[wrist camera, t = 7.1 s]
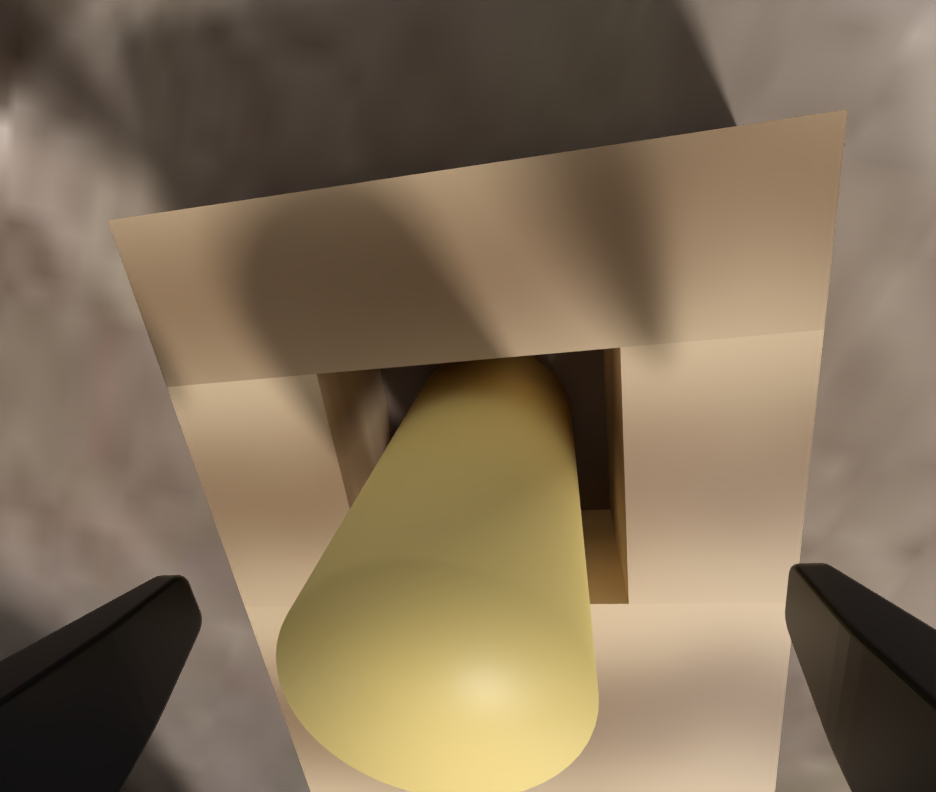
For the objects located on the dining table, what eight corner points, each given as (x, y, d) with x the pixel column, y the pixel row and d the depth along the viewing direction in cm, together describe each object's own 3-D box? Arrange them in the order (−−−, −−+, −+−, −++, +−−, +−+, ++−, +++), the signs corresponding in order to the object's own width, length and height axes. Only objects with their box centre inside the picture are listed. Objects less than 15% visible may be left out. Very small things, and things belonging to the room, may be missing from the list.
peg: (576, 483, 14) (605, 807, 7) (431, 489, 15) (318, 790, 8) (565, 338, 13) (588, 553, 6) (405, 353, 14) (236, 562, 6)
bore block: (716, 677, 17) (770, 832, 13) (364, 672, 19) (315, 806, 15) (740, 133, 12) (847, 109, 8) (239, 208, 14) (107, 220, 10)
